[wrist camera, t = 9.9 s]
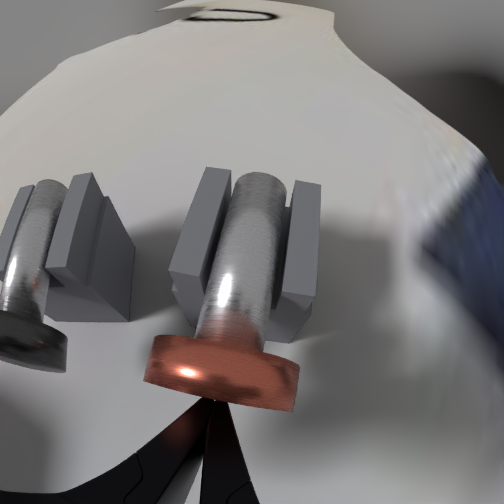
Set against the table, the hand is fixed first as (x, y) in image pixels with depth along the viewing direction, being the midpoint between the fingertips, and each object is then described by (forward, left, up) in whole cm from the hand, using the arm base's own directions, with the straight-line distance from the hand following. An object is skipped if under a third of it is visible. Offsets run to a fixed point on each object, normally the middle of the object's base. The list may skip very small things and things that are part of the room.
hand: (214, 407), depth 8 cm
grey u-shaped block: (+11, +5, -7) cm, 14 cm away
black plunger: (+9, +6, -3) cm, 11 cm away
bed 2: (+6, -4, -7) cm, 10 cm away
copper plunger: (+4, -3, -3) cm, 5 cm away
